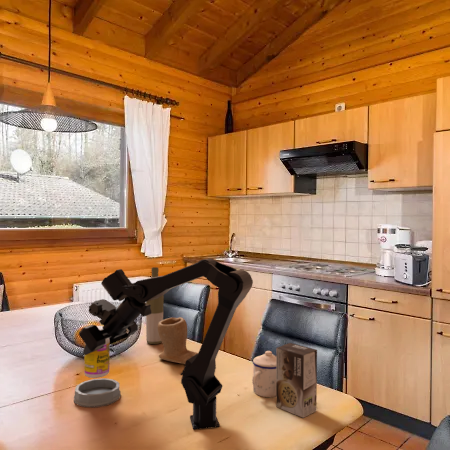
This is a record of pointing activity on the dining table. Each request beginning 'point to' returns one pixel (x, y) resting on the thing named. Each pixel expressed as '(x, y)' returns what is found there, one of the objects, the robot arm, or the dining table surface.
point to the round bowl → (97, 392)
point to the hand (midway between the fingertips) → (93, 349)
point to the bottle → (154, 316)
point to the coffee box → (296, 379)
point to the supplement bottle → (97, 361)
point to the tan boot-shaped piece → (174, 340)
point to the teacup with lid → (264, 375)
